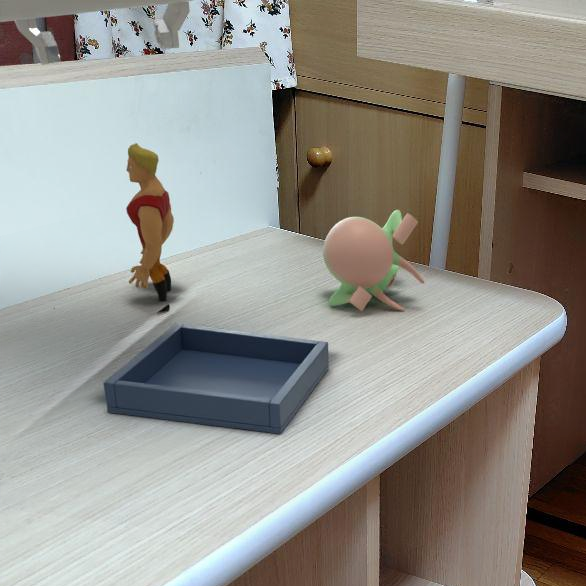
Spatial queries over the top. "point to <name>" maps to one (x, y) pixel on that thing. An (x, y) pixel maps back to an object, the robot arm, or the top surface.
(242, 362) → the blue tray
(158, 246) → the action figure
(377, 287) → the pink green toy creature
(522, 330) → the top surface
